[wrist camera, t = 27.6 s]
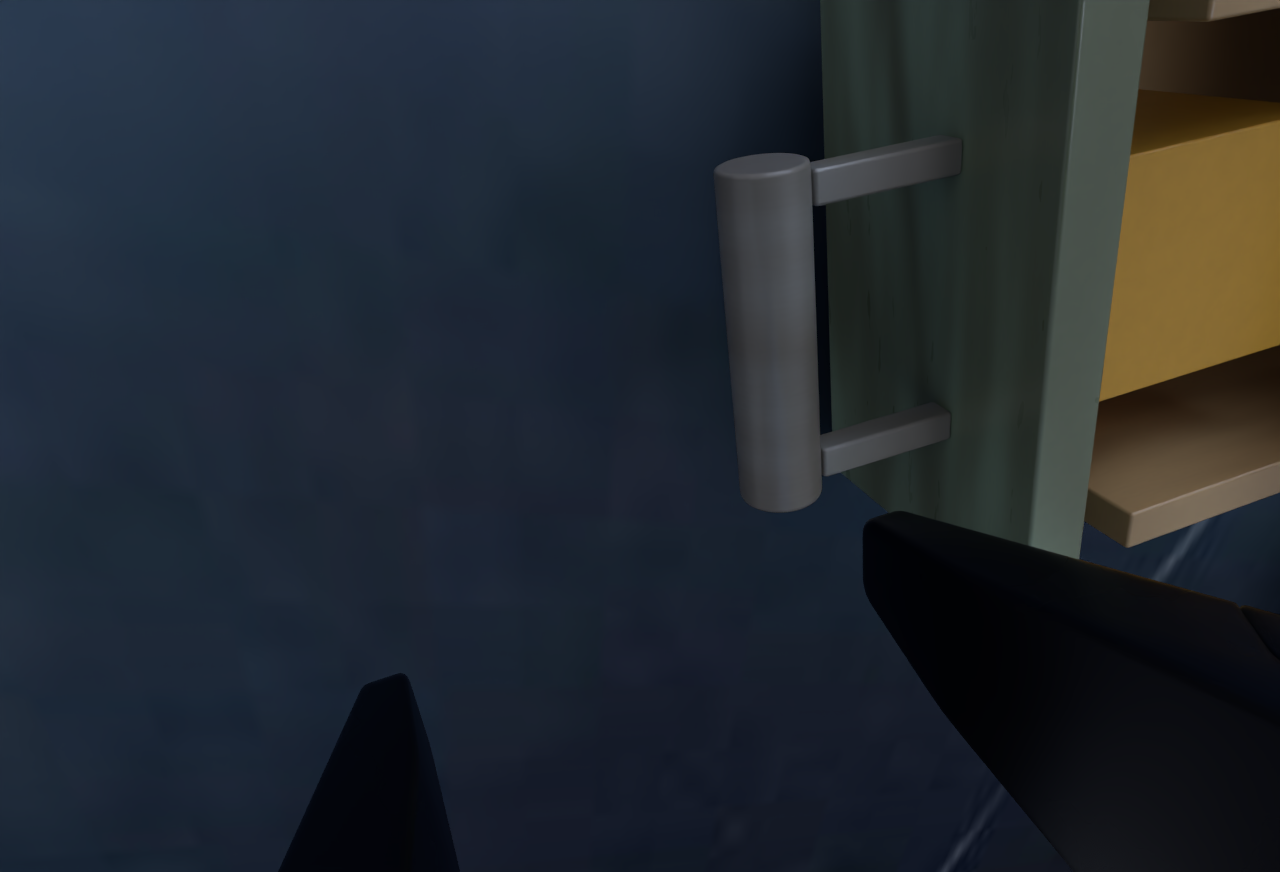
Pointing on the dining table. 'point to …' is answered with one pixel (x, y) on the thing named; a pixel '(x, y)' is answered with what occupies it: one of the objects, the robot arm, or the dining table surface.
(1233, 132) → the block
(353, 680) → the dining table surface
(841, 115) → the drawer
